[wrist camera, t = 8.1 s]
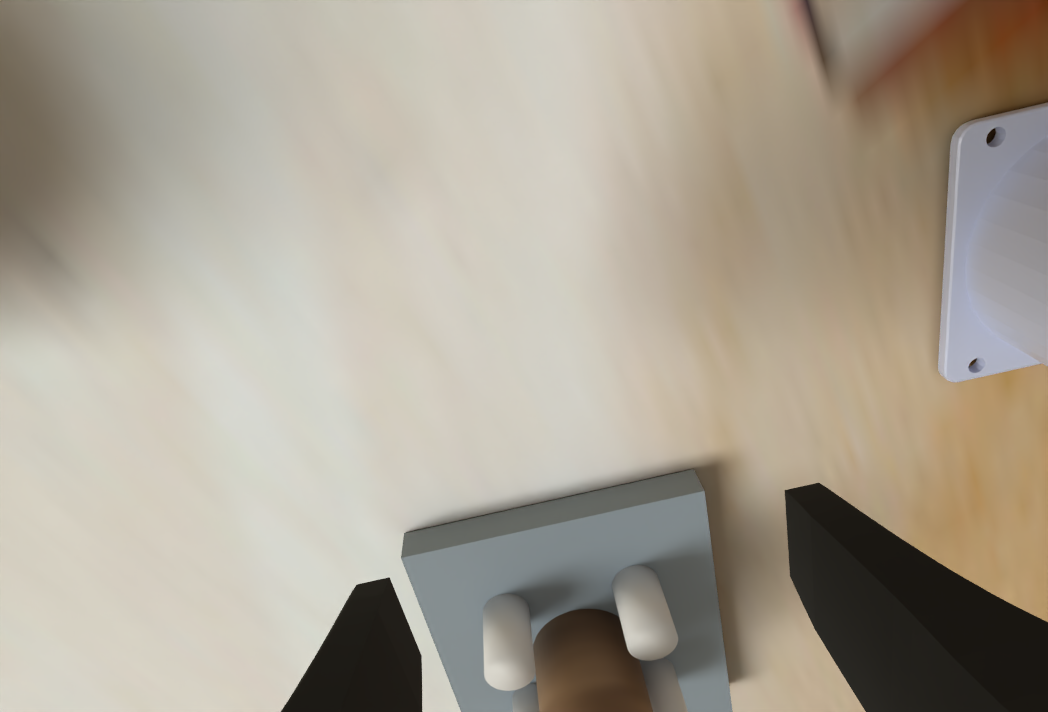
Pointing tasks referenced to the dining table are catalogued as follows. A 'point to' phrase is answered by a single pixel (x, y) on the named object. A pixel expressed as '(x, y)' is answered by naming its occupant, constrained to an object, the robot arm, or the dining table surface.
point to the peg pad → (576, 591)
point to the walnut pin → (587, 665)
